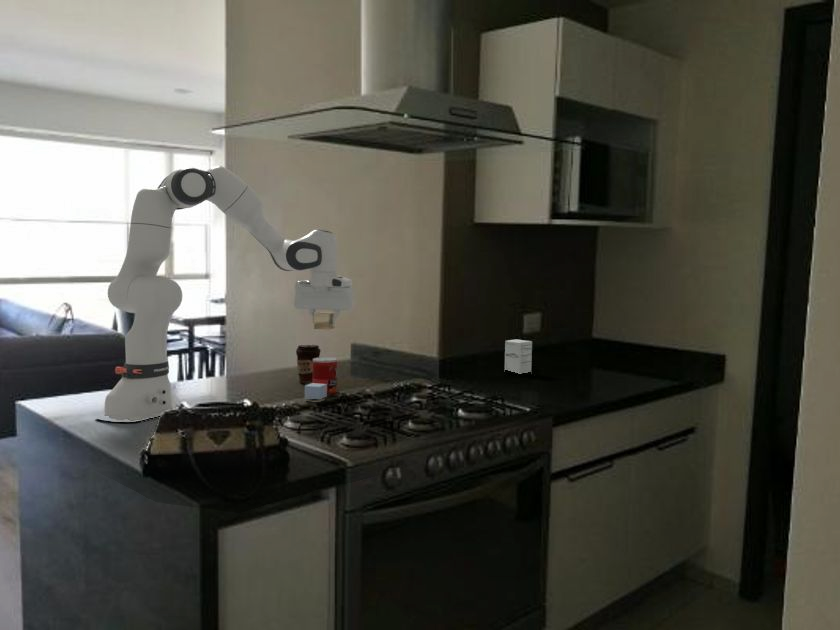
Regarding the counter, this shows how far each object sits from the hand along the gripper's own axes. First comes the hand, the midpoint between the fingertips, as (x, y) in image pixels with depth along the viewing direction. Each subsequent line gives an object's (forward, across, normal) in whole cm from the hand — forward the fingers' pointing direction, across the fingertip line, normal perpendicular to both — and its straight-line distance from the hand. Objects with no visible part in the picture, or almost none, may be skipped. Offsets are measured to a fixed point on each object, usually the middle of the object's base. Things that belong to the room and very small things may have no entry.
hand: (324, 323), depth 242 cm
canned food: (+23, 0, 0) cm, 23 cm away
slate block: (+23, +3, -13) cm, 26 cm away
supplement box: (+23, +53, +55) cm, 80 cm away
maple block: (+2, 0, 0) cm, 2 cm away
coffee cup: (+23, -13, +14) cm, 30 cm away
